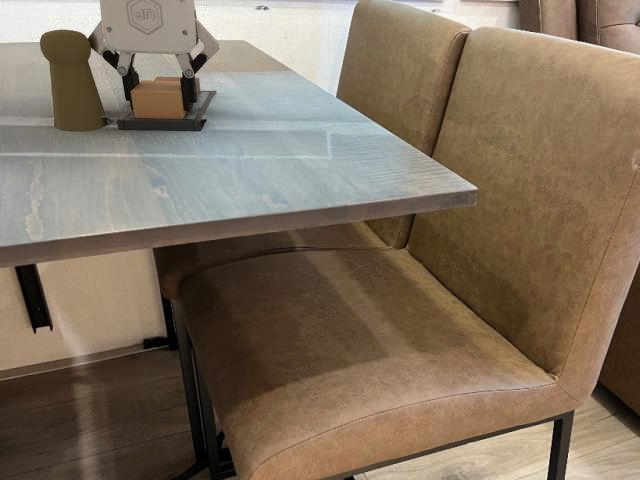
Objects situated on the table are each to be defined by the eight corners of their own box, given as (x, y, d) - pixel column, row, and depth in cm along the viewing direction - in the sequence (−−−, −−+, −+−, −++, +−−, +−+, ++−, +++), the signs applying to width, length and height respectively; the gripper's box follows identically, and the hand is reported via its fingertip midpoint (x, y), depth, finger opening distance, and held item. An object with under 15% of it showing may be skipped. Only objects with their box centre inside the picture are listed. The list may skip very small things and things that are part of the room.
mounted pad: (150, 112, 83) (146, 87, 82) (160, 100, 89) (157, 76, 87) (194, 112, 84) (191, 88, 82) (201, 100, 89) (199, 77, 88)
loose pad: (134, 118, 77) (130, 91, 75) (145, 105, 82) (141, 80, 80) (182, 119, 78) (179, 92, 76) (190, 106, 83) (187, 81, 81)
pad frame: (118, 133, 76) (116, 119, 76) (147, 100, 90) (145, 89, 89) (201, 134, 78) (199, 121, 77) (217, 102, 91) (216, 90, 90)
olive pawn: (97, 118, 81) (79, 25, 76) (117, 129, 78) (100, 32, 72) (47, 125, 77) (24, 28, 72) (66, 137, 74) (44, 36, 68)
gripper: (46, -62, 66) (81, 114, 75) (216, -52, 68) (230, 117, 77) (70, -64, 72) (99, 98, 81) (224, -55, 74) (236, 102, 84)
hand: (162, 106), depth 79 cm, fingers closed on loose pad, 5 cm apart
